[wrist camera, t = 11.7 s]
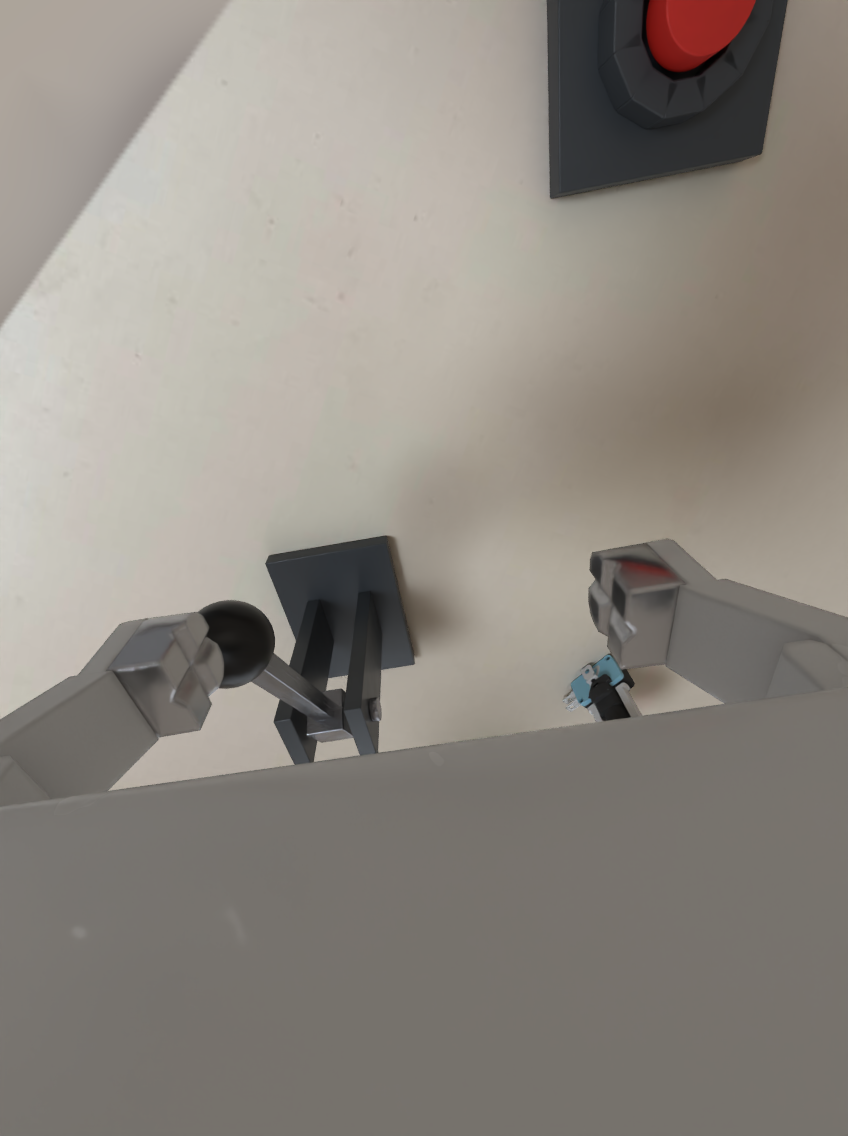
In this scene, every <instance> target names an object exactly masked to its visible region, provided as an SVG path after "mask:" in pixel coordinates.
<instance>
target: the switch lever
mask: <svg viewBox="0 0 848 1136" xmlns="http://www.w3.org/2000/svg"><path fill="white" fill-rule="evenodd" d="M197 613H199V614H201V615H203V617H204V619H205V620H206V622H207V624H208V626H209V631H208V634H207V637H208V638H209V639H211V640H212V641H214V642H215V643H217V644H218V646H219V648H220V650H221V652H222V655H223V660H224V677H223V679H222V682H221V684H220V687H219V688H222V689H227V688H235V687H239V686H242V685H245V684H247V683H249V682H253V683H254V684H256V685H258V686H259V687H261V688H263V689H264V690H266V691H267V692H269V693H271V694H272V695H274V696H276V697H277V698H279V699H280V700H282V701H284V702H285V703H287V704H289V705H290V706H292V707H293V708H295V709H297V710H298V711H300V712H302V713H303V714H305V715H306V735H307V736H309V737H311V738H313V739H315V740H317V741H319V742H321V743H322V742H329V741H335V740H342V739H348V738H353V735H352V732H351V729H350V727H349V724H348V721H347V719H346V716H345V713H344V704H345V696H346V692H345V691H344V690H343V689H335V690H329V691H323V692H321V691H319V690H318V689H317V688H316V687H315V686H313V685H312V684H311V683H310V682H308V681H307V680H306V679H305V678H304V677H302V676H301V675H300V674H299V673H297V672H296V671H295V670H294V669H292V668H291V667H290V666H289V665H288V664H286V663H285V662H284V661H283V660H281V659H280V658H279V657H278V656H277V655H275V654H274V653H273V652H274V647H275V636H274V631H273V628H272V625H271V623H270V622H269V620H268V618H267V617H266V616H265V615H264V614H263V613H262V612H261V611H260V610H259V609H257V608H256V607H254V606H253V605H250V604H248V603H245V602H242V601H235V600H226V601H219V602H216V603H213V604H210V605H208V606H206V607H204V608H203V609H201V610H200V611H199V612H197Z"/></svg>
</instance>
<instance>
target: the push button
mask: <svg viewBox="0 0 848 1136" xmlns="http://www.w3.org/2000/svg"><path fill="white" fill-rule="evenodd" d="M587 669H588V670H587ZM586 670H587V671H586ZM585 671H586V672H585ZM581 673H582V675H581V676H579V677H578V678H577V679H575V680H574V681H573V682H572V683H571V687H572V689H573V691H572V692H571V693H570V695H569V696H567V697H566V698H565V699H563V702H565V703H566V704H569V703H570V702H572V701H574V702H572V703H571V704H570V705H568V706H567V707H566V709H567V710H569V711H570V712H571V711H573V710H574V709H575V708H577V707H578V706H584V707H585V708H587V709H588V711H589V713H590V714H592V715H593V716H594V718H595V721H596V722H602V721H609V720H616V719H623V718H630V717H637V716H642V714H641V712H640V711H639V709H638V707H637V705H636V704H635V702H634V700H633V698H632V697H631V695H630V693H629V691H630V689H631V688H632V687H633V686H634V684H635V683H634V681H633V679H632V678H631V676H630V674H629V673H628V671H627V669H620V667H619V665H618V664H617V662H616V660H615V659H614V658H613V657H612V656H610V655H606V656H605V657H604V658H603V659H601V660H600V661H599V662H598V663H596V664H595V665H594V666H592V667H591V665H587V666H586V667H584V668H583V669H582V671H581ZM568 698H571V700H569V701H568V700H567V699H568ZM570 706H574V707H573V708H570Z"/></svg>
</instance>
